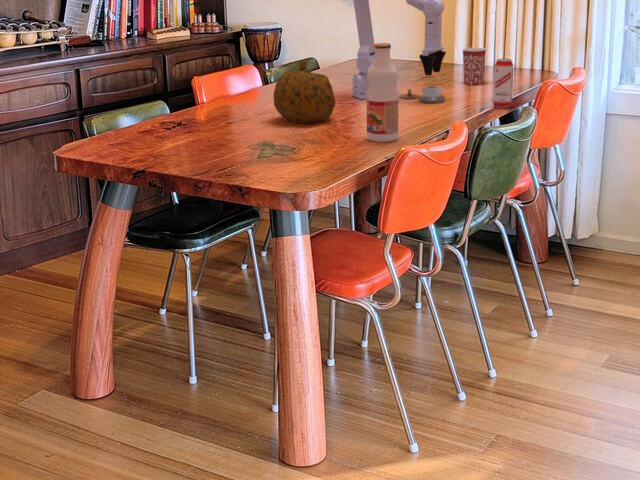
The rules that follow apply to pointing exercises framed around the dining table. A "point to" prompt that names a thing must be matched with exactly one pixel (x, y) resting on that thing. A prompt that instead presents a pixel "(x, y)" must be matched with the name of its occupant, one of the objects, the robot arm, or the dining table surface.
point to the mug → (473, 65)
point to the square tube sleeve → (431, 91)
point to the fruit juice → (382, 96)
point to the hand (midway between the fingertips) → (432, 73)
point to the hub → (432, 99)
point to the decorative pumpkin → (304, 96)
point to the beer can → (503, 83)
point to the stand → (409, 95)
